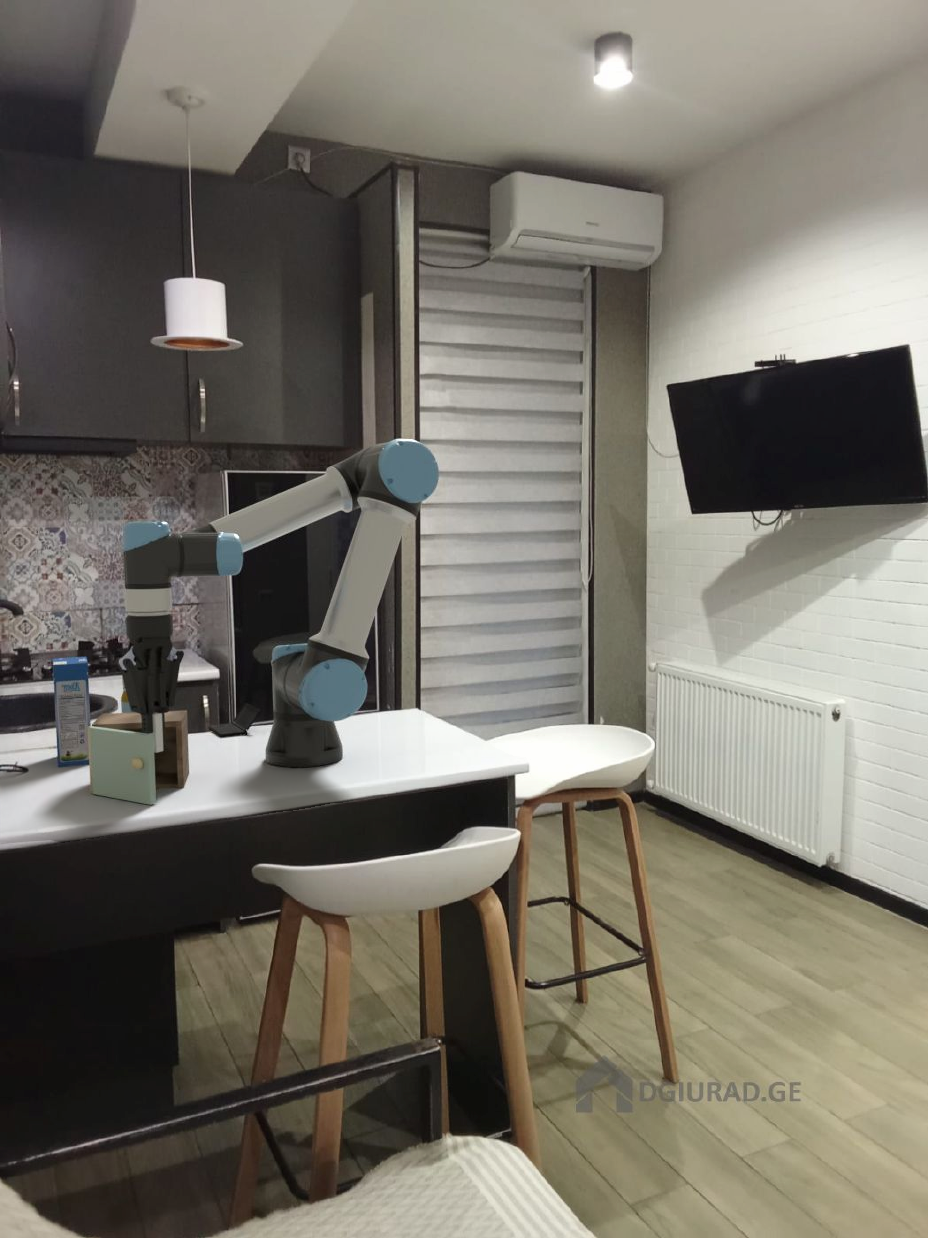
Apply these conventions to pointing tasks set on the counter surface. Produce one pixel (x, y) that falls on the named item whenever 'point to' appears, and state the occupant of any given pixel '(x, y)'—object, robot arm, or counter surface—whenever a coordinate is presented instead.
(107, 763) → the cabinet door
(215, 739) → the counter surface
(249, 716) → the handheld gaming console
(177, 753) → the walnut cabinet
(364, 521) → the robot arm
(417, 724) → the counter surface
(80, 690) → the milk carton
